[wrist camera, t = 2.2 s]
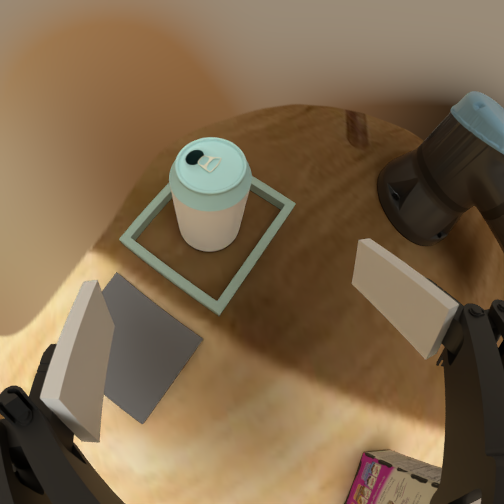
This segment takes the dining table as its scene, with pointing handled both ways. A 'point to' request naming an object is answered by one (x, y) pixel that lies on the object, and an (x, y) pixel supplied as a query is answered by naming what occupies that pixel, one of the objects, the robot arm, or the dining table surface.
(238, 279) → the corral
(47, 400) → the robot arm
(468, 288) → the dining table surface
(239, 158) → the can
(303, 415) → the dining table surface
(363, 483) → the candy bar box
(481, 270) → the dining table surface
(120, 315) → the coaster
